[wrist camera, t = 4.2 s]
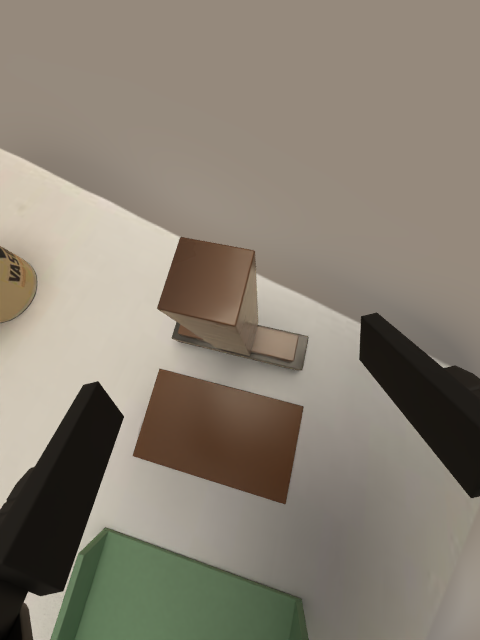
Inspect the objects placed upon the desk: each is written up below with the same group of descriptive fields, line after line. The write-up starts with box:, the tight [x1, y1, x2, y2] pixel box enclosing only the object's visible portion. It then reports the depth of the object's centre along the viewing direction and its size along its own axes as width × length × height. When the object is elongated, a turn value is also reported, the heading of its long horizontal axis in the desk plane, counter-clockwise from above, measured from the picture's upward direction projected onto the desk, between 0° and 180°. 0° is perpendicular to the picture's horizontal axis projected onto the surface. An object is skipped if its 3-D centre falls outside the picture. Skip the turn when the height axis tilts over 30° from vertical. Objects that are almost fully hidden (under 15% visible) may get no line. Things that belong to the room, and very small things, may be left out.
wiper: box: [157, 237, 308, 371], centre depth 17 cm, size 12×3×16 cm, turn 76°
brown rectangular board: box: [133, 369, 303, 504], centre depth 23 cm, size 14×8×1 cm, turn 76°
